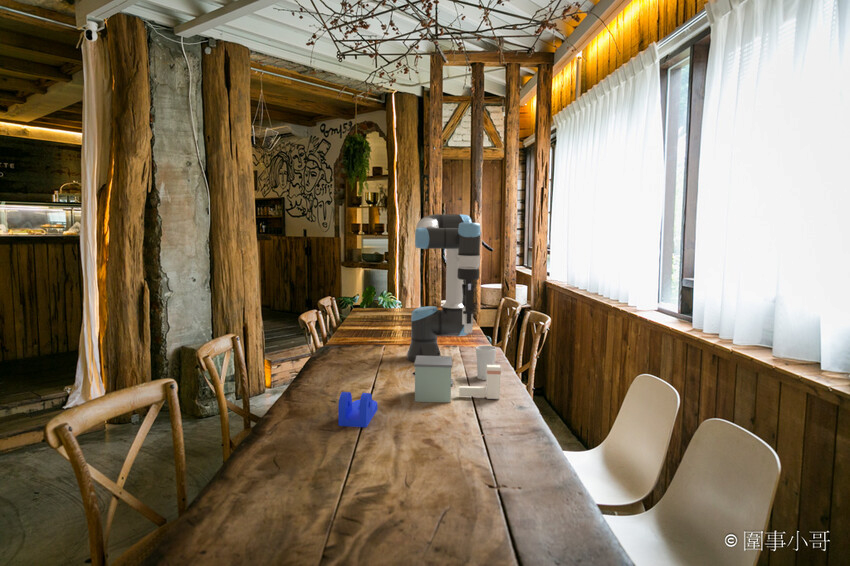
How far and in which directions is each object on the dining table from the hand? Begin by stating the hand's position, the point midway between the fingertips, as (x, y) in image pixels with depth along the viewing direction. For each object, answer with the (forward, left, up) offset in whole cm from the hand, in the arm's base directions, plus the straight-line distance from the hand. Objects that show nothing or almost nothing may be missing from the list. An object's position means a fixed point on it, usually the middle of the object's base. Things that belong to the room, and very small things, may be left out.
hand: (467, 328), depth 167 cm
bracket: (+40, +4, -24) cm, 47 cm away
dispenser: (+12, -2, -23) cm, 26 cm away
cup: (-17, -13, -23) cm, 32 cm away
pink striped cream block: (-2, +6, -23) cm, 24 cm away
